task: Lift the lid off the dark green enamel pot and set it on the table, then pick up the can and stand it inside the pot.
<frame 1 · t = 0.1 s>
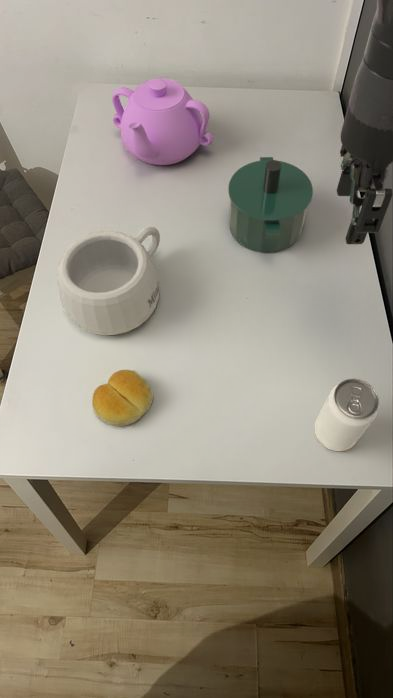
hand: (348, 217, 65), 22 cm above the table, tool pointing down, fingers open, 8 cm apart
mug: (122, 291, 88), on the table
can: (335, 431, 74), on the table
pot: (265, 225, 94), on the table
bread roll: (124, 401, 78), on the table
teapot: (160, 152, 106), on the table
lid: (270, 190, 87), point 8 cm above the table, touching pot
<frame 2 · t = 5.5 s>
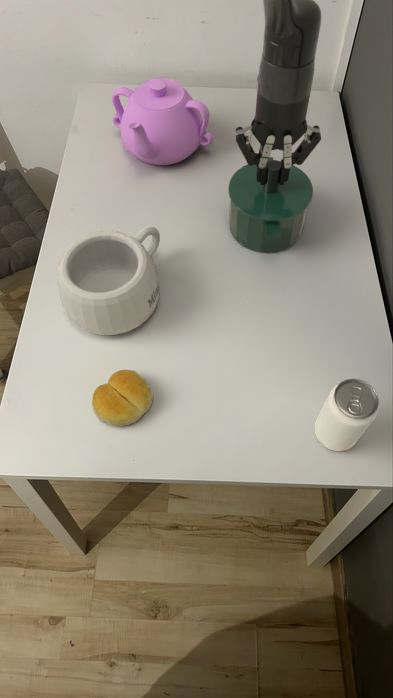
hand: (271, 181, 85), 11 cm above the table, tool pointing down, fingers closed on lid, 2 cm apart
lid: (270, 190, 87), point 9 cm above the table, touching gripper, pot
everything else where it was.
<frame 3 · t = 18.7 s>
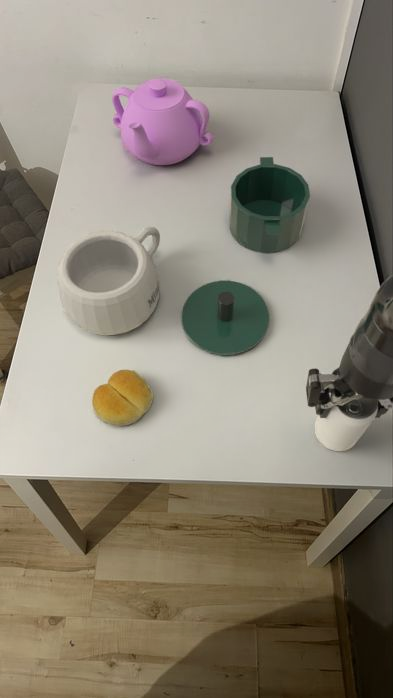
hand: (348, 411, 67), 8 cm above the table, tool pointing down, fingers closed on can, 6 cm apart
can: (335, 431, 74), on the table, touching gripper
lid: (225, 317, 84), point 1 cm above the table
everything else where it was.
when the fingers open (8 cm above the table, at t = 28.0 s): can stays where it is, resting on pot.
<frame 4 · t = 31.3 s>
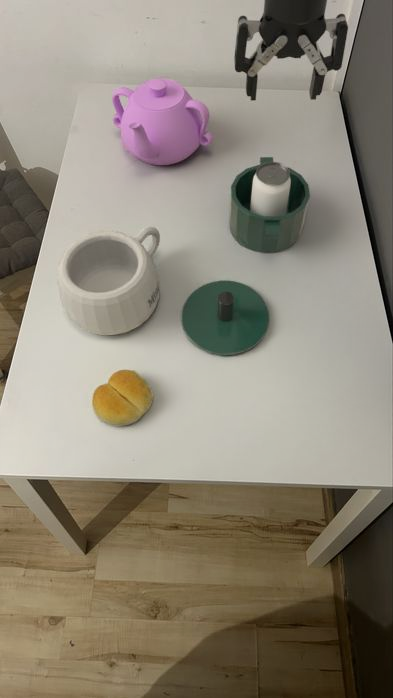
hand: (282, 96, 72), 26 cm above the table, tool pointing down, fingers open, 8 cm apart
can: (266, 224, 94), resting on pot
everything else where it was.
at the end: lid point 0.6 cm above the table; can inside the target area in the pot (0.2 cm from its centre), point 0.3 cm above the pot's base; can tilted 0° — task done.
